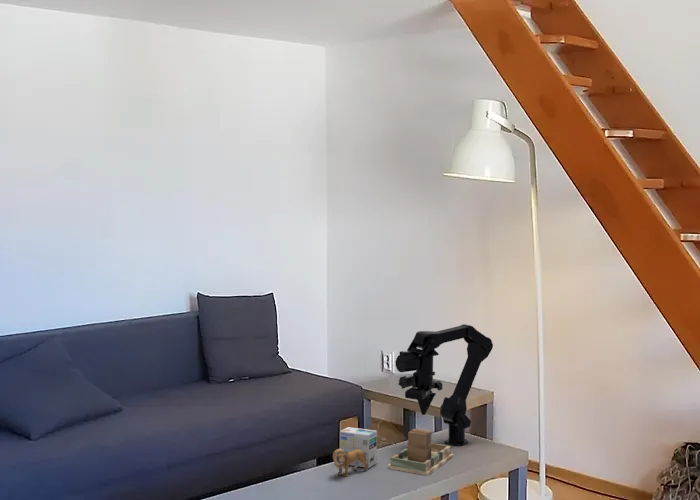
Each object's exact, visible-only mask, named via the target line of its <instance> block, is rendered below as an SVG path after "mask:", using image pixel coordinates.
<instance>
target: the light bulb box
mask: <svg viewBox="0 0 700 500" xmlns="http://www.w3.org/2000/svg"><path fill="white" fill-rule="evenodd" d="M339 449H342V450H345V451H346V452H348V453H349V452H352V451H354V450H357V449H360V450H362V451H363V452H364V453H365V456H366V462H367V463H368V469H370V468H371V467H373V466H374V465H376V464H377V460H378V458H377V457H378V456H377V455H378V430H374V429H365V428H360V427H359V428H358V427H350V426H348V427H346V428H345V427H344V429H341V430H340V431H339ZM349 466H353V467H354V466H355V462H354V463H352V464H349ZM357 467H360V468H365V467H366V466H365V465H364V464H363V463H361V462H360V461H359V460H358V466H357Z"/></svg>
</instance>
